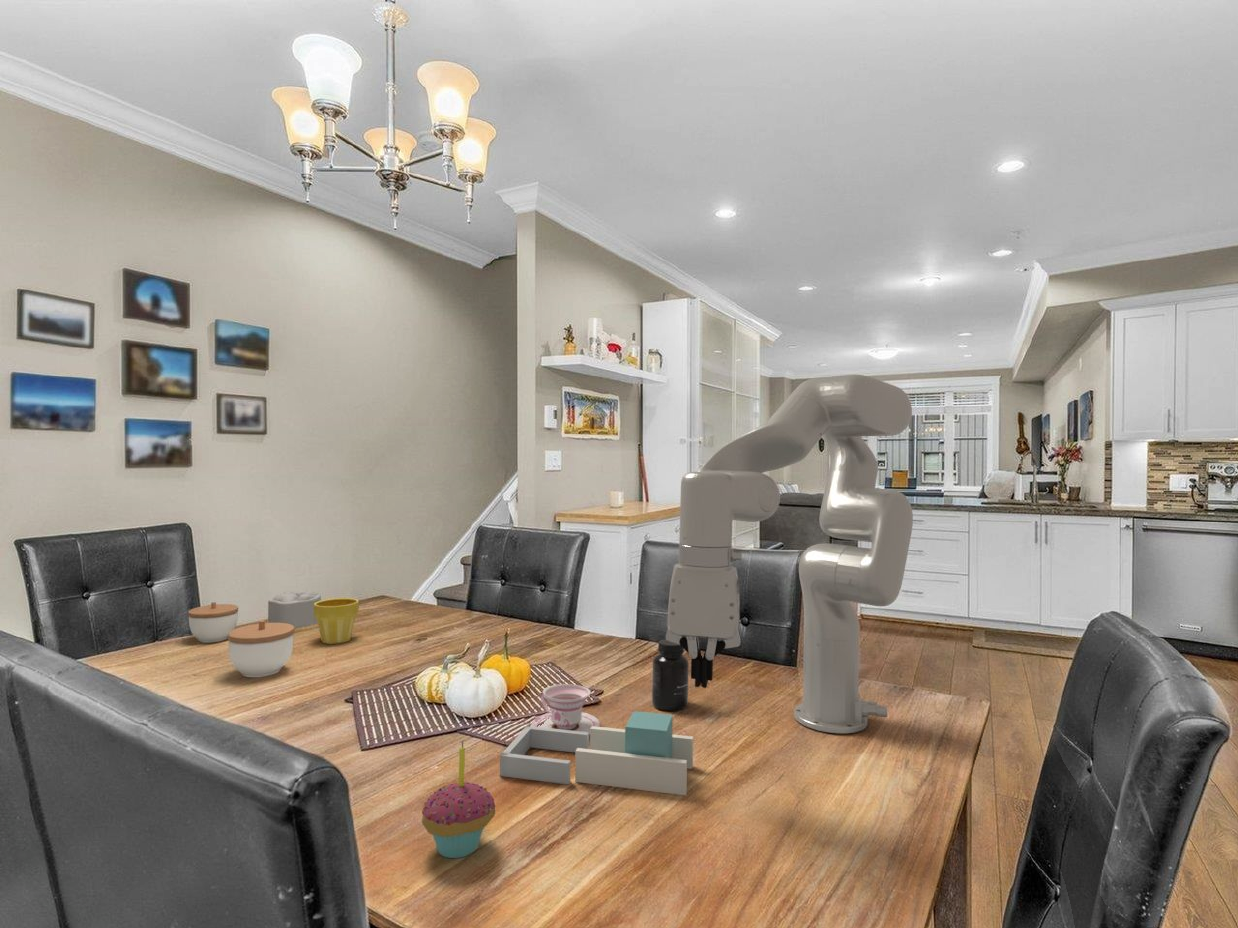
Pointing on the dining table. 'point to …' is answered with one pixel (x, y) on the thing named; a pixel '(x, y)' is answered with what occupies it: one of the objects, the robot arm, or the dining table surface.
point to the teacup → (566, 708)
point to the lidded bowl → (261, 648)
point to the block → (649, 734)
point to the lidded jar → (213, 622)
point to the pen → (540, 767)
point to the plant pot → (336, 619)
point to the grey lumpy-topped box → (293, 608)
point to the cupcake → (458, 815)
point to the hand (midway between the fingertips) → (701, 684)
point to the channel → (633, 764)
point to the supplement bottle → (670, 677)
